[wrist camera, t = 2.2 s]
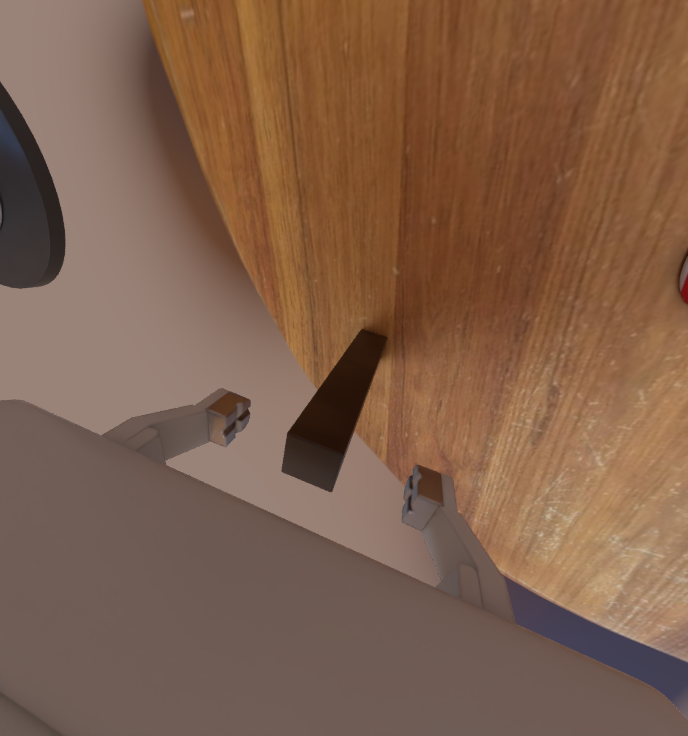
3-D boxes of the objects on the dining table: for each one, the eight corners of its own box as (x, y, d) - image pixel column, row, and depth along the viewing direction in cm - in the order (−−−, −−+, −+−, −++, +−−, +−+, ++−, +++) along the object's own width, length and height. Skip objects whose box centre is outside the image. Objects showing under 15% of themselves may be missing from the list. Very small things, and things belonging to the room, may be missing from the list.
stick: (354, 352, 23) (280, 472, 11) (361, 328, 22) (286, 432, 10) (379, 361, 23) (331, 493, 11) (387, 337, 22) (344, 455, 9)
